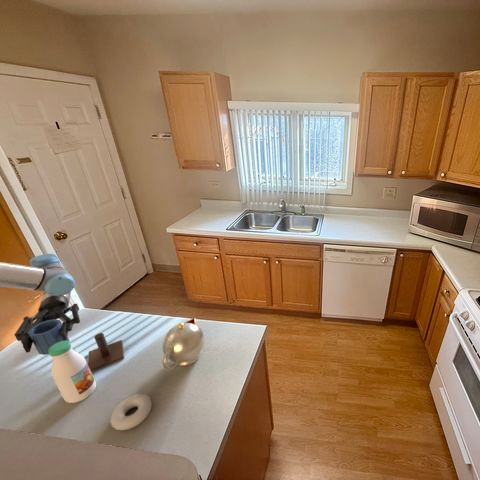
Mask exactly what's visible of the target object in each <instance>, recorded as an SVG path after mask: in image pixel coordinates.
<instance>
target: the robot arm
mask: <svg viewBox="0 0 480 480" xmlns="http://www.w3.org/2000/svg"><path fill="white" fill-rule="evenodd" d="M29 264H30V265H24V264H18V263H11V262H3V261H0V288H8V289H17V290H18V289H19V290H29V291H39V292H42V297H41V300H40V302H39V306H38V311H37V313H35V315H33V316H28V315H27V316H24V317H23V319H22V322H21V324H20V326H19V327H18V328H17V330H16V331H15V332H14V337H15V339H16V341H17V342H20V344H21V345H22V348H23V349H24V351H25V353H30V352H31V350H32V346H33V345H34V343H33V342H32V340H31V338H30V336H29V334H28V332H29V330H30V329H31V328H32V327H34V326H36V325H37V324H39V323H42V322H44V321H47V320H53V319H56V320H60V321H61V324H62V329H61V336H62V338H63V341H65V340H67V337H68V334H69V332H71V331H73V326H74V325H76V324H80V323H81V319H80V315H79V311H80V307H79V305H78V303H73V304H72V305H70V300H71V293H72V291H73V290H74V289H75V286H76V282H75V279H74V277H73V276H72V275H71V274H70V273H69V272H68V271H67V269H65V268H64V266H63V265H62V263H61V260H60V258H59V257H58V255H57V254H55V253H43V254H39V255H36V256H34V257H32V258H31V259H30V260H29ZM68 312H71V314H72V318H71V317H69V316H68V315H67V313H68Z"/></svg>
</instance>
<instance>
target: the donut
mask: <svg viewBox="0 0 480 480" xmlns="http://www.w3.org/2000/svg"><path fill="white" fill-rule="evenodd" d="M134 408H137V410H136V411H135V412H134V413H132V414H129V415H126V414H127V413H128V412H129V411H130V410H131V409H134ZM151 409H152V400H151V398H150V396H148V395H146V394H141V393H139V394H134V395H132V396H129V397H127V398H126V399H124V400H122V401H121V402H120V403H119V404H117V406H116V407H115V408H114V410H113V411H112V414H111V415H110V425H111V427H112V428H113V429H114V430H115V431H122V432H123V431H128V430H130V429H133V428H135V427H136V426H138V425H139V424H141V423H142V422H143V421H144V420H146V418H147V417H148V415H149V414H150V411H151Z"/></svg>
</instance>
